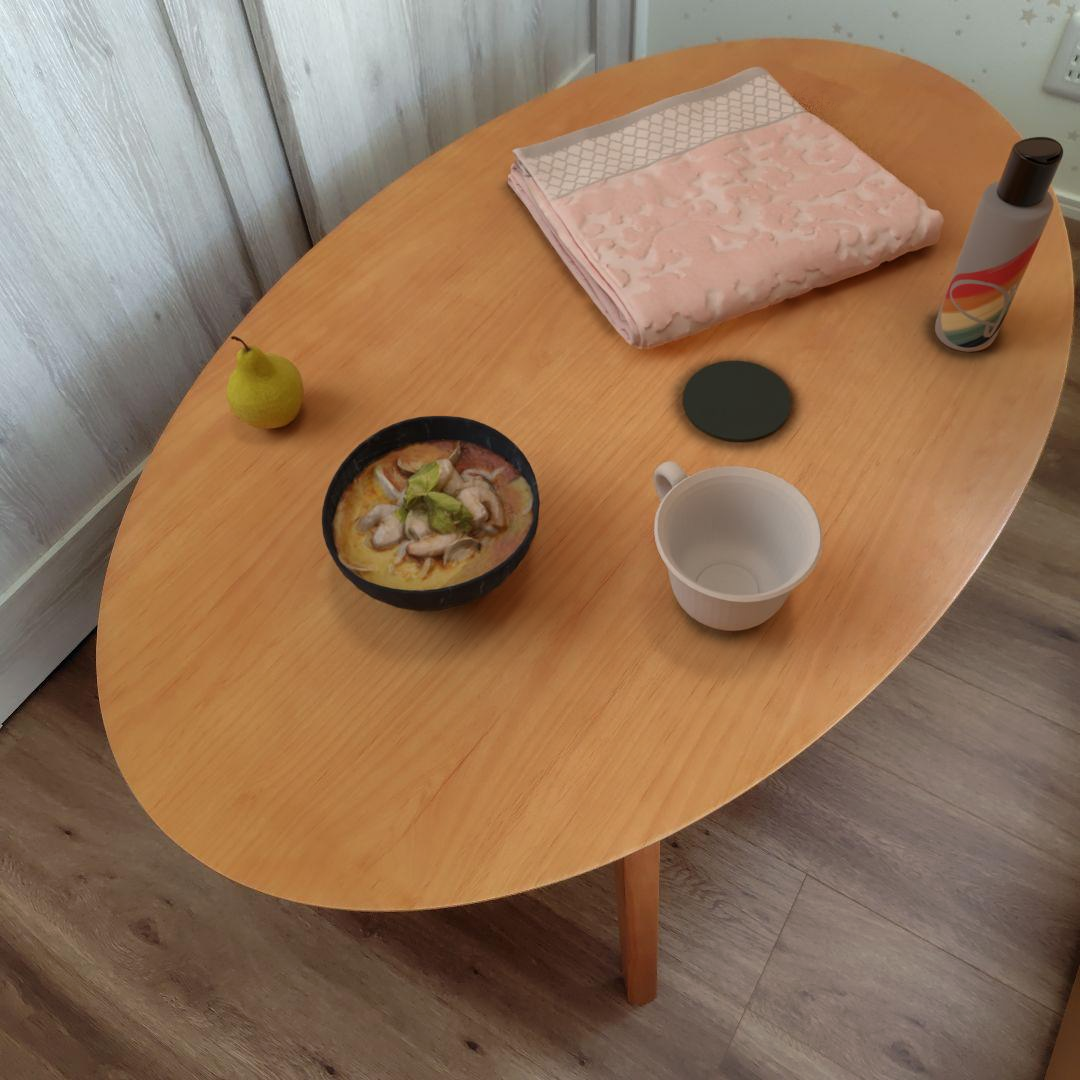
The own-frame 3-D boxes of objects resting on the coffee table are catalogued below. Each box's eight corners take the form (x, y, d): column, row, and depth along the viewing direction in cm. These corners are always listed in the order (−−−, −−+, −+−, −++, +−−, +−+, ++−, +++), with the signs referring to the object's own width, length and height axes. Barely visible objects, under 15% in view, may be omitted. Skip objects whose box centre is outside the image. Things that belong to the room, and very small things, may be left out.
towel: (764, 98, 116) (770, 52, 112) (942, 254, 98) (958, 207, 93) (500, 185, 110) (495, 140, 105) (637, 371, 91) (639, 326, 86)
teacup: (709, 494, 82) (719, 417, 74) (833, 612, 75) (859, 540, 67) (598, 564, 79) (596, 492, 71) (717, 695, 71) (730, 630, 63)
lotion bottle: (962, 361, 89) (1040, 174, 73) (920, 326, 92) (986, 139, 76) (1008, 338, 91) (1095, 150, 74) (965, 304, 94) (1040, 116, 77)
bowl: (336, 656, 76) (302, 591, 67) (355, 487, 85) (328, 413, 77) (548, 646, 75) (540, 578, 67) (543, 477, 85) (535, 400, 76)
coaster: (755, 350, 92) (755, 347, 92) (811, 419, 86) (812, 416, 86) (663, 384, 90) (663, 381, 90) (715, 456, 85) (716, 453, 84)
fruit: (256, 387, 93) (214, 293, 84) (322, 393, 92) (287, 298, 83) (232, 440, 90) (184, 347, 80) (299, 447, 89) (260, 353, 79)
